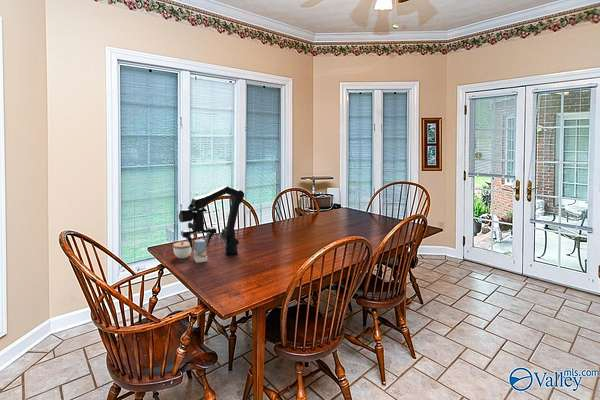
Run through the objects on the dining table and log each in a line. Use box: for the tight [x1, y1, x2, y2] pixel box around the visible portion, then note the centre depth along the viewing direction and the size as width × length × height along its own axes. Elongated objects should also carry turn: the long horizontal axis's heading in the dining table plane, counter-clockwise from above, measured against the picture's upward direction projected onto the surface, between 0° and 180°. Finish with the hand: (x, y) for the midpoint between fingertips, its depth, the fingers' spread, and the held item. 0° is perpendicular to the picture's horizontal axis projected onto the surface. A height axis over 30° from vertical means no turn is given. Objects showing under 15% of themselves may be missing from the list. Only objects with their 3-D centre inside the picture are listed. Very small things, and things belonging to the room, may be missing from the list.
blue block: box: [193, 238, 207, 253], centre depth 206 cm, size 5×5×6 cm
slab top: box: [193, 249, 207, 258], centre depth 207 cm, size 6×6×3 cm
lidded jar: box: [172, 241, 193, 259], centre depth 212 cm, size 11×11×9 cm
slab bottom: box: [193, 255, 208, 264], centre depth 207 cm, size 6×6×3 cm
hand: (199, 246), depth 206 cm, fingers open, 9 cm apart
